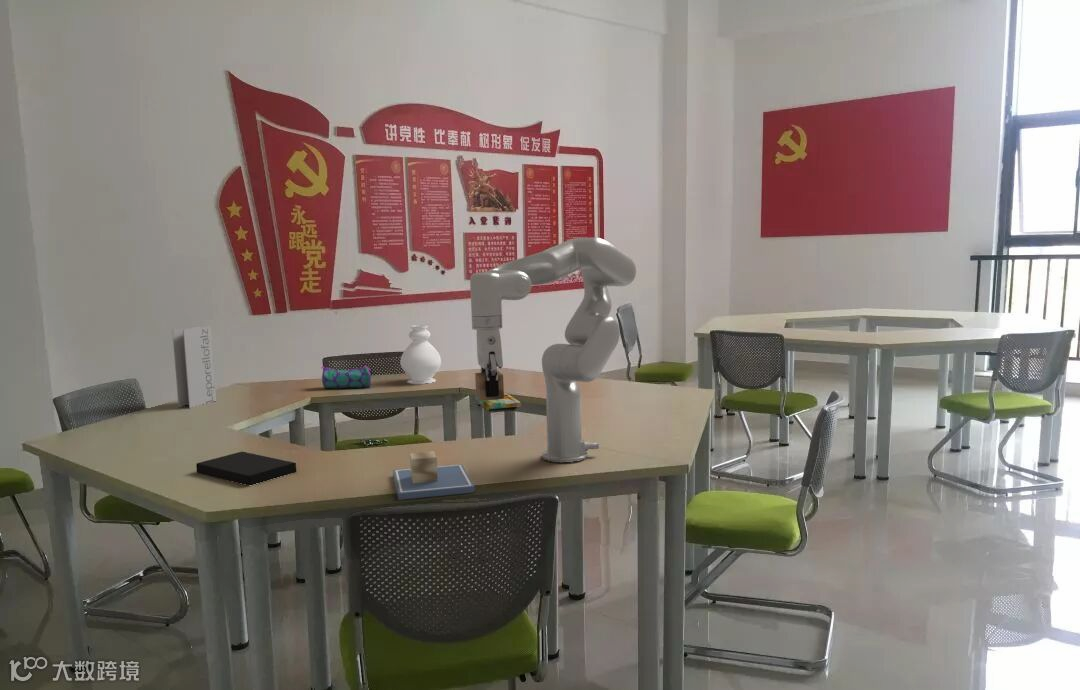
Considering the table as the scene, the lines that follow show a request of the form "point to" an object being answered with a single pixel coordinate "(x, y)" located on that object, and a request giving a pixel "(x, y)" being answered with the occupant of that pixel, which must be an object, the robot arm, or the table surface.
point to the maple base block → (423, 467)
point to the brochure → (194, 366)
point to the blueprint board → (434, 483)
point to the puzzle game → (500, 404)
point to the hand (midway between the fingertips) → (489, 393)
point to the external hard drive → (245, 468)
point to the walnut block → (481, 388)
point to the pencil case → (347, 378)
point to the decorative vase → (420, 357)
